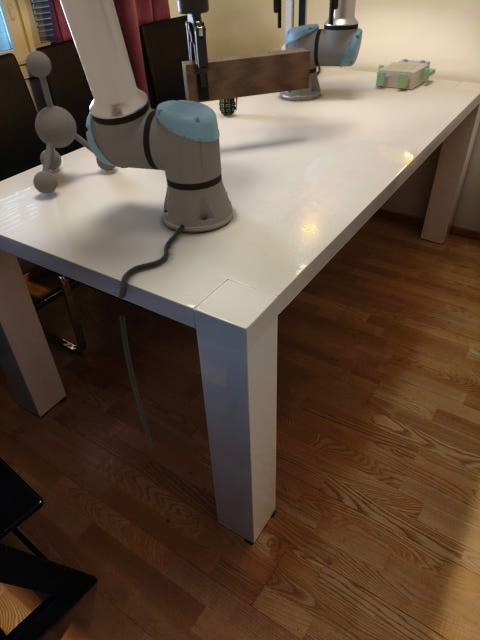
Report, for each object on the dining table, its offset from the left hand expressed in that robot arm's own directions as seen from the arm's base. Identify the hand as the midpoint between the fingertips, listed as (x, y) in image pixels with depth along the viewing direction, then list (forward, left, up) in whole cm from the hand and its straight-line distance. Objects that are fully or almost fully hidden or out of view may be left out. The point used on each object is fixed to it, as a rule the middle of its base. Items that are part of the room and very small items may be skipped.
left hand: (201, 96), depth 131 cm
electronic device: (+97, +14, -15) cm, 99 cm away
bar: (+9, -9, -1) cm, 13 cm away
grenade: (+35, +13, -15) cm, 41 cm away
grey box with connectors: (+98, -32, -15) cm, 104 cm away
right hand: (+21, -21, +14) cm, 33 cm away
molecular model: (-28, +23, -15) cm, 39 cm away
